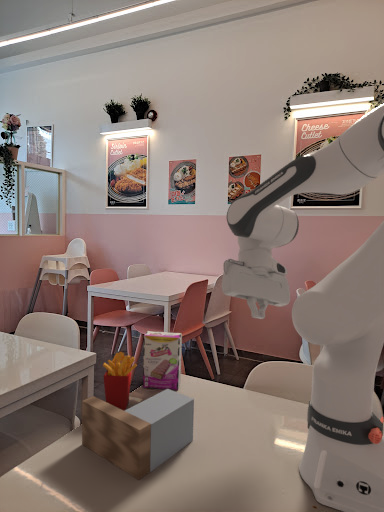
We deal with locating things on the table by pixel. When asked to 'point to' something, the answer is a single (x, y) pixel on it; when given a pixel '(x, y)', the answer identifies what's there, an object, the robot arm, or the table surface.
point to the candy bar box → (162, 360)
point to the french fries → (118, 380)
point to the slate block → (166, 423)
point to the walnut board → (116, 436)
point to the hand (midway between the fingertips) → (258, 318)
